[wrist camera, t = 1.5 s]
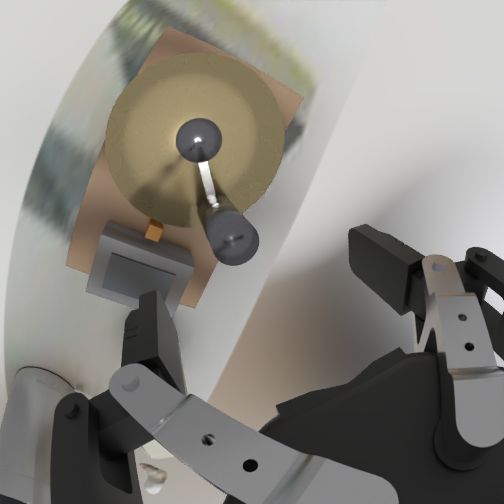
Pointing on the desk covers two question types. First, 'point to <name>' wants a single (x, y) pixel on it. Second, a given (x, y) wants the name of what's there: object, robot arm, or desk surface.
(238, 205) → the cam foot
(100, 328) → the desk surface
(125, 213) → the tan piece
